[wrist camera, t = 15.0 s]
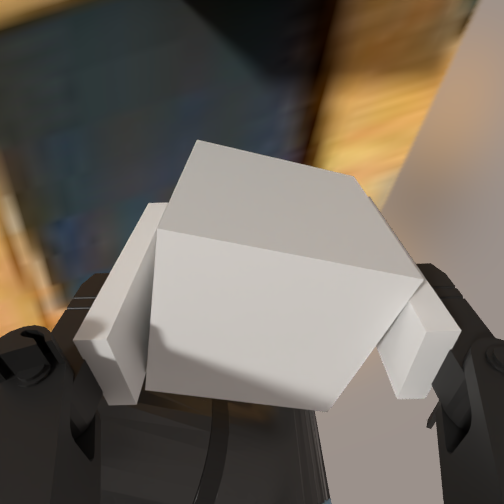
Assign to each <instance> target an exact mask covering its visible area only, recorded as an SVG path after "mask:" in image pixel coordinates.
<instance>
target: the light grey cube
mask: <svg viewBox="0 0 504 504" xmlns="http://www.w3.org/2000/svg"><path fill="white" fill-rule="evenodd" d="M423 280H424V279H423V277H422V276H421V275H420V273H419V272H418V270H417V269H416V267H415V266H414V264H413V263H412V261H411V260H410V258H409V257H408V255H407V254H406V252H405V251H404V249H403V248H402V247H401V245H400V244H399V242H398V241H397V239H396V238H395V236H394V235H393V233H392V232H391V230H390V229H389V227H388V226H387V224H386V223H385V222H384V220H383V219H382V217H381V216H380V214H379V213H378V211H377V210H376V208H375V207H374V205H373V204H372V202H371V201H370V199H369V198H368V197H367V195H366V194H365V192H364V191H363V189H362V188H361V186H360V185H359V183H358V182H357V180H356V179H355V177H354V176H350V175H345V174H341V173H337V172H333V171H328V170H324V169H320V168H315V167H311V166H307V165H303V164H298V163H294V162H290V161H286V160H281V159H277V158H273V157H269V156H264V155H260V154H256V153H252V152H247V151H243V150H239V149H234V148H230V147H226V146H222V145H217V144H213V143H209V142H205V141H200V140H197V141H196V143H195V145H194V148H193V150H192V152H191V154H190V157H189V159H188V161H187V163H186V165H185V168H184V170H183V172H182V174H181V177H180V179H179V181H178V183H177V186H176V188H175V190H174V192H173V194H172V197H171V199H170V201H169V203H168V206H167V208H166V210H165V212H164V215H163V217H162V219H161V221H160V223H159V226H158V228H157V239H156V252H155V265H154V279H153V292H152V305H151V318H150V332H149V345H148V358H147V371H146V385H145V390H149V391H157V392H165V393H173V394H182V395H190V396H198V397H207V398H215V399H223V400H231V401H240V402H248V403H256V404H264V405H273V406H281V407H289V408H298V409H306V410H314V411H322V412H328V411H329V409H330V408H331V407H332V405H333V404H334V403H335V401H336V400H337V398H338V397H339V396H340V394H341V393H342V392H343V390H344V389H345V387H346V386H347V385H348V383H349V382H350V380H351V379H352V378H353V376H354V375H355V374H356V372H357V371H358V370H359V368H360V367H361V365H362V364H363V362H364V361H365V360H366V359H367V357H368V356H369V354H370V353H371V352H372V350H373V349H374V347H375V346H376V345H377V343H378V342H379V341H380V339H381V338H382V337H383V335H384V334H385V332H386V331H387V330H388V328H389V327H390V326H391V324H392V323H393V321H394V320H395V319H396V317H397V316H398V315H399V313H400V312H401V310H402V309H403V308H404V306H405V305H406V304H407V302H408V301H409V299H410V298H411V297H412V295H413V294H414V293H415V291H416V290H417V288H418V287H419V286H420V284H421V283H422V282H423Z"/></svg>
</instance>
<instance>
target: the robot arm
mask: <svg viewBox="0 0 504 504" xmlns="http://www.w3.org/2000/svg"><path fill="white" fill-rule="evenodd" d="M368 198H369V199H370V201H371V202H372V204H373V205H374V207H375V208H376V210H377V211H378V213H379V214H380V216H381V217H382V219H383V220H384V222H385V223H386V224H387V226H388V227H389V229H390V230H391V232H392V233H393V235H394V236H395V238H396V239H397V241H398V242H399V244H400V245H401V247H402V248H403V249H404V251H405V252H406V254H407V255H408V257H409V258H410V260H411V261H412V263H413V264H414V266H415V267H416V269H417V270H418V272H419V273H420V275H421V276H422V277H423V279H424V280H423V282H422V283H421V284H420V286H419V287H418V288H417V290H416V291H415V293H414V294H413V295H412V297H411V298H410V299H409V301H408V302H407V304H406V305H405V306H404V308H403V309H402V310H401V312H400V313H399V315H398V316H397V317H396V319H395V320H394V321H393V323H392V324H391V326H390V327H389V328H388V330H387V331H386V332H385V334H384V335H383V337H382V338H381V339H380V341H379V342H378V343H377V345H376V347H377V349H378V352H379V354H380V357H381V359H382V362H383V365H384V367H385V370H386V372H387V375H388V377H389V380H390V382H391V385H392V387H393V390H394V393H395V395H396V398H397V399H423V398H426V396H427V394H428V393H429V391H430V389H431V387H433V389H434V390H435V393H436V395H437V397H438V398H439V402H438V403H437V405H436V407H435V408H434V410H433V412H432V413H431V415H430V417H429V419H428V422H427V428H430V429H431V428H432V427H433V425H434V423H435V422H436V426H437V436H438V447H439V457H440V466H441V467H440V468H441V479H442V489H443V500H444V504H504V340H501V339H497V338H495V337H494V336H493V334H492V333H491V332H490V330H489V329H488V328H487V327H486V325H485V324H484V323H483V321H482V320H481V319H480V318H479V316H478V315H477V314H476V312H475V311H474V310H473V309H472V307H471V306H470V305H469V303H468V302H467V301H466V300H465V299H463V296H462V294H461V293H460V292H459V291H458V289H456V288H455V285H454V284H453V283H452V282H451V280H450V279H449V278H448V276H447V275H446V274H445V273H444V272H442V271H441V270H439V269H438V268H436V267H435V266H434V265H432V264H431V263H430V264H415V262H414V261H413V259H412V258H411V256H410V255H409V253H408V252H407V250H406V249H405V248H404V246H403V245H402V243H401V242H400V240H399V239H398V237H397V236H396V234H395V233H394V231H393V230H392V229H391V227H390V226H389V224H388V223H387V221H386V220H385V218H384V217H383V215H382V214H381V212H380V211H379V210H378V208H377V207H376V205H375V204H374V202H373V201H372V199H371V198H370V197H368ZM167 206H168V203H149V204H148V205H147V207H146V209H145V211H144V213H143V214H142V216H141V218H140V220H139V222H138V223H137V225H136V227H135V229H134V231H133V232H132V234H131V236H130V238H129V240H128V241H127V243H126V245H125V247H124V249H123V250H122V252H121V254H120V256H119V258H118V259H117V261H116V263H115V265H114V267H113V268H112V270H111V272H110V273H98V274H94V275H93V276H92V277H90V278H89V279H88V280H87V281H85V282H84V283H83V284H82V285H81V287H80V288H79V290H78V291H77V293H76V294H75V296H74V299H72V301H71V302H70V304H69V305H68V307H67V310H65V312H64V313H63V315H62V316H61V318H60V319H59V321H58V323H57V324H56V326H55V327H54V329H53V330H52V332H50V331H49V330H48V329H46V328H45V327H42V326H36V325H33V326H26V327H22V328H19V329H16V330H14V331H11V332H9V333H7V334H5V335H4V336H2V337H1V338H0V504H332V503H331V499H330V495H329V489H328V483H327V478H326V472H325V467H324V461H323V456H322V450H321V445H320V439H319V433H318V427H317V422H316V416H315V411H314V410H306V409H298V408H289V407H281V406H273V405H264V404H256V403H248V402H240V401H231V400H223V399H215V398H207V397H198V396H190V395H182V394H173V393H165V392H157V391H149V390H145V385H146V371H147V358H148V345H149V332H150V318H151V305H152V292H153V279H154V265H155V252H156V239H157V228H158V226H159V223H160V221H161V219H162V217H163V215H164V212H165V210H166V208H167Z"/></svg>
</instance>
